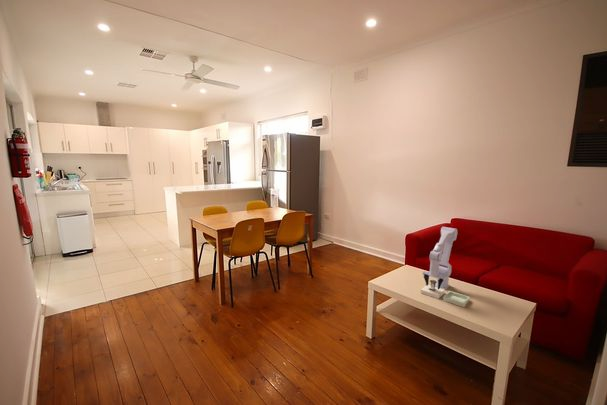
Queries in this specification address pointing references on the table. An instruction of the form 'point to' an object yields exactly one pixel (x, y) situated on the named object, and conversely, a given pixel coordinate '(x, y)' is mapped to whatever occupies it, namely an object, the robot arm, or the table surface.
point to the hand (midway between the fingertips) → (432, 287)
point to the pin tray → (456, 298)
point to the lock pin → (433, 285)
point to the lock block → (436, 293)
